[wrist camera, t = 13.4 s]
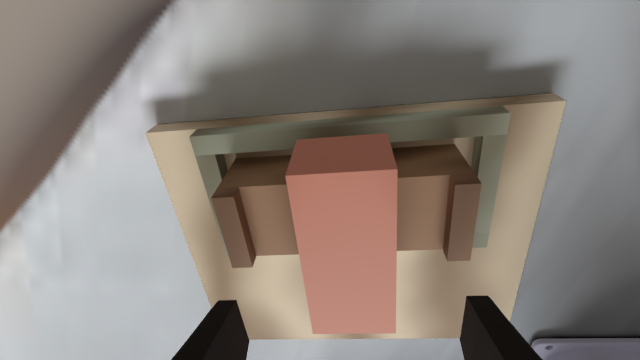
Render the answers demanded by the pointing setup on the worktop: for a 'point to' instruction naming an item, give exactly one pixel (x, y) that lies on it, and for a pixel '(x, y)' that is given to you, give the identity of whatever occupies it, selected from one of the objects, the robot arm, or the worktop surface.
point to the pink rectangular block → (346, 231)
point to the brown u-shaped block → (412, 205)
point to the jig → (412, 266)
